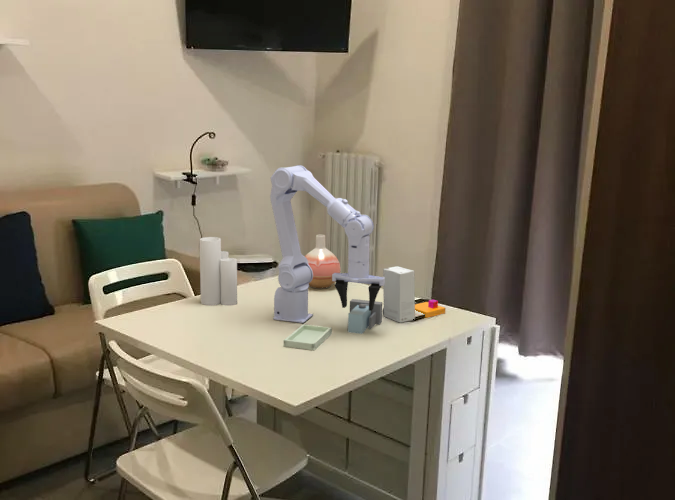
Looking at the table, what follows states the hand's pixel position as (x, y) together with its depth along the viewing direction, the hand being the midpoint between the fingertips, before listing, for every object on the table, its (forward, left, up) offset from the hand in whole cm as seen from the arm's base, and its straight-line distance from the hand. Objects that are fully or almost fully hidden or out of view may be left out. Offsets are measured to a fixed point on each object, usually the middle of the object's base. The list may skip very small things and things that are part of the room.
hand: (357, 308), depth 211 cm
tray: (-10, -12, -7) cm, 17 cm away
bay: (0, +6, -6) cm, 9 cm away
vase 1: (-48, +12, -7) cm, 50 cm away
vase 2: (-25, +41, -7) cm, 48 cm away
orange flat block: (+15, +24, -7) cm, 29 cm away
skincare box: (+8, +16, -7) cm, 19 cm away
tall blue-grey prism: (0, +3, -7) cm, 7 cm away
